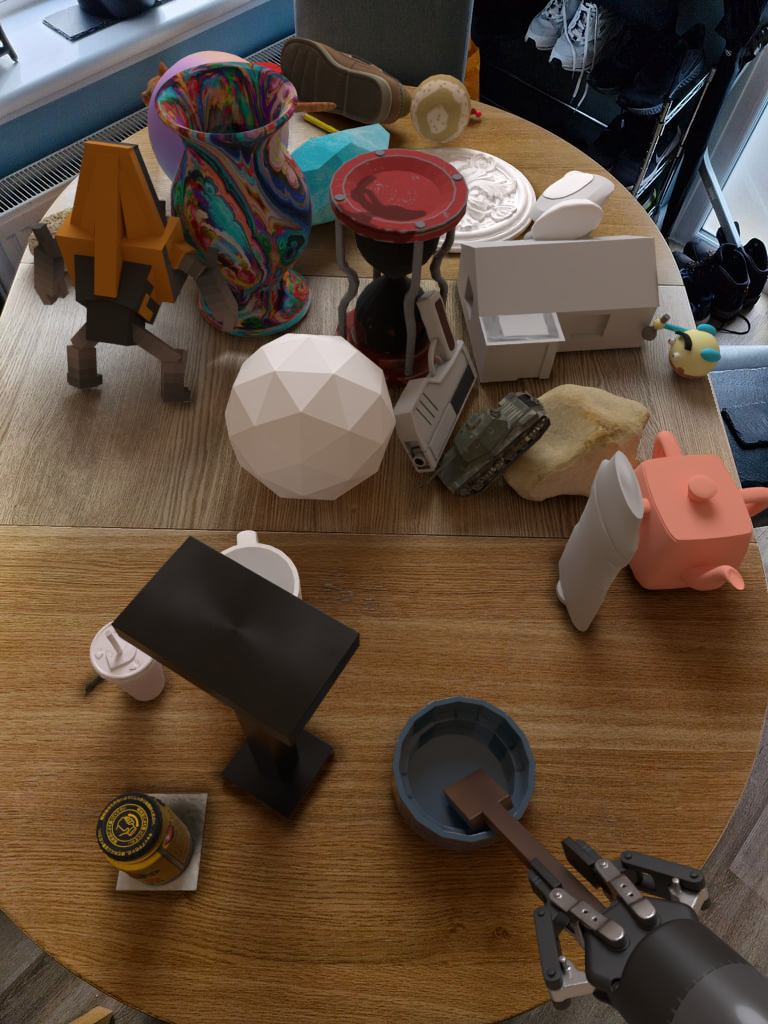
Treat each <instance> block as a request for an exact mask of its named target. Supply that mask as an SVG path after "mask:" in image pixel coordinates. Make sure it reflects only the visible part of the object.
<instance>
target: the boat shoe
mask: <svg viewBox="0 0 768 1024" xmlns="http://www.w3.org/2000/svg"><path fill="white" fill-rule="evenodd" d="M279 66H280V68H281V73H282V75H283V76H284V77H285V78H287V79H288V80H289V81H290V82H291V83H292V84H293V86H294V87H295V89H296V92H297V102H298V103H311V102H331V103H335V104H336V108H335V109H333V110H327V111H323V112H325V113H331V114H337V115H340V116H343V117H345V118H347V119H350V120H353V121H356V122H360V123H362V124H367V125H374V124H380V125H392V124H395V122H396V121H398V120H400V119H402V118H405V117H407V116H408V115H409V114H410V107H411V100H412V97H413V95H412V94H411V92H410V91H409V90H408V89H407V87H405V86H404V85H403V84H402V83H401V81H400V80H399V79H397V78H396V77H394V76H393V75H391V74H389V73H387V72H386V71H385V70H382V69H381V68H380V67H377V65H375V64H373V63H372V62H370V61H368V60H366V59H364V58H362V57H360V56H358V55H355V54H349V53H344V52H342V51H337V50H335V49H334V48H333V47H331V46H329V45H327V44H324V43H322V42H318V41H314V40H313V39H312V40H311V39H309V38H304V37H290V38H288V39H286V40H285V41H284V43H283V45H282V48H281V51H280V57H279Z"/></svg>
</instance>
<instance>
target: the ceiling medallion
mask: <svg viewBox="0 0 768 1024" xmlns="http://www.w3.org/2000/svg"><path fill="white" fill-rule="evenodd" d="M415 150H416V151H421V152H424V153H427V154H431V155H434V156H437V157H439V158H441V159H442V160H444V161H446V162H448V163H449V164H451V165H453V166H454V167H455V168H456V169H457V170H458V171H459V172H460V174H461V175H462V176H463V177H464V178H465V181H466V184H467V186H468V189H469V194H468V201H467V207H466V214H465V215H464V217H463V218H462V219H461V221H460V222H459V224H458V225H457V226H456V229H455V237H454V243H453V245H452V247H451V249H450V251H449V252H448V253H456V254H457V253H459V254H461V245H460V243H472V242H492V241H513V240H515V239H516V238H518V237H519V236H520V235H521V234H523V233H524V232H525V231H526V230H527V228H528V227H529V226H530V224H531V223H532V221H533V220H532V219H531V218H530V217H529V213H530V210H531V208H532V207H533V205H534V204H535V203H536V201H537V197H536V192H535V191H534V188H533V186H532V184H531V182H530V181H529V180H528V178H527V177H526V176H525V175H524V174H523V173H522V172H521V171H520V170H518V169H517V168H516V167H515V166H513V165H512V164H510V163H509V162H507V161H506V160H503V159H501V158H499V157H497V156H495V155H492V154H491V153H487V152H485V151H480V150H477V149H471V148H466V147H459V146H433V147H424V148H420V149H415ZM445 238H446V233H445V234H443V235H442V236H440V239H439V243H438V247H437V249H436V251H435V252H437V251H438V250H439V249H440V248H441V246H442V244H443V242H444V240H445Z"/></svg>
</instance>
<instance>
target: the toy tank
mask: <svg viewBox="0 0 768 1024" xmlns="http://www.w3.org/2000/svg"><path fill="white" fill-rule="evenodd" d="M480 394H481V397H482V398H483V400H484V402H485V403H486V405H487V407H488V408H486V409H481V411H479V412H478V413H474V414H472V415H471V416H470V417H469V418H467V419H466V420H465V421H464V423H463V425H462V426H461V428H460V429H459V431H458V432H457V434H456V436H454V438H453V441H452V447H451V448H450V449H449V450H448V451H446V452H445V453H442V455H441V457H440V459H439V461H438V464H437V466H436V468H435V470H434V471H433V472H434V473H433V474H431V476H429V478H427V479H426V480H425V481H424V482H423V483H422V485H420V486H419V489H420V490H423V488H424V487H426V486H427V485H428V484H429V483H430V482H431V481H432V480H433V479H434V478H436V476H437V477H438V478H439V479H440V481H441V482H442V483H443V484H444V485H445V487H446V488H447V489H448V491H449V492H450V493H452V495H453V496H456V497H457V498H458V499H460V500H463V501H464V500H466V499H469V498H471V497H473V496H476V495H478V494H482V493H483V491H485V490H486V489H487V488H488V487H489V486H490V485H491V484H492V483H493V482H495V481H496V480H497V479H498V478H499V477H501V475H503V472H504V471H505V470H507V469H508V468H509V467H510V466H511V465H512V464H513V463H514V462H515V461H516V460H518V459H519V458H520V457H521V456H522V455H523V454H524V453H525V452H526V451H527V450H529V449H530V448H531V447H532V446H533V445H534V444H535V443H536V442H537V441H538V440H540V438H541V437H542V436H543V434H544V433H545V432H546V430H547V429H548V428H549V427H550V425H551V422H550V419H549V418H548V417H547V416H546V415H545V414H548V413H547V412H545V411H544V410H545V409H544V410H543V407H544V406H543V405H542V403H541V402H539V400H538V399H537V398H538V397H537V398H536V396H533V395H532V393H529V392H528V391H527V390H524V392H523V391H517V392H513V391H510V392H509V393H508V394H507V395H506V396H504V397H503V398H502V399H501V400H500V401H499V402H498V407H491V408H490V406H489V404H488V403H487V402H486V400H485V398H484V396H483V395H482V393H480ZM543 419H545V420H544V421H543ZM538 425H539V426H538ZM541 425H542V426H541ZM536 427H537V428H539V430H538V429H536ZM534 430H536V431H535V432H533V431H534ZM531 433H532V434H531ZM530 434H531V435H530ZM527 436H528V438H531V439H530V440H529V441H528V442H527V441H526V439H525V437H527ZM523 441H524V442H523ZM519 444H520V446H522V447H520V446H519ZM516 446H517V447H518V449H519V450H518V451H517V452H515V451H514V450H513V448H514V447H516ZM511 451H513V452H511ZM513 453H514V454H513ZM508 455H509V456H510V458H509V456H508ZM504 457H506V458H507V459H508V460H507V461H506V462H504ZM492 469H496V470H494V472H493V470H492ZM480 479H484V481H482V480H480Z"/></svg>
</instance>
